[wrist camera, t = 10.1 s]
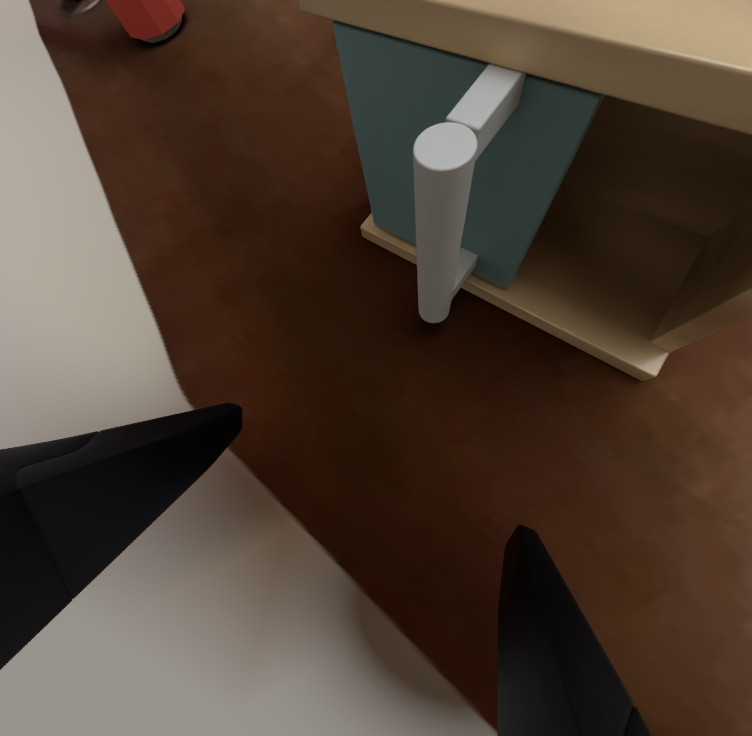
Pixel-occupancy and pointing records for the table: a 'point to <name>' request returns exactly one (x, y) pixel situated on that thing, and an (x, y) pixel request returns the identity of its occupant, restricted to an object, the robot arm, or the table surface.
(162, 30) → the beverage can
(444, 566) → the table surface
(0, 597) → the robot arm
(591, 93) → the sliding door
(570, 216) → the cabinet
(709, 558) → the table surface
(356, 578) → the table surface
